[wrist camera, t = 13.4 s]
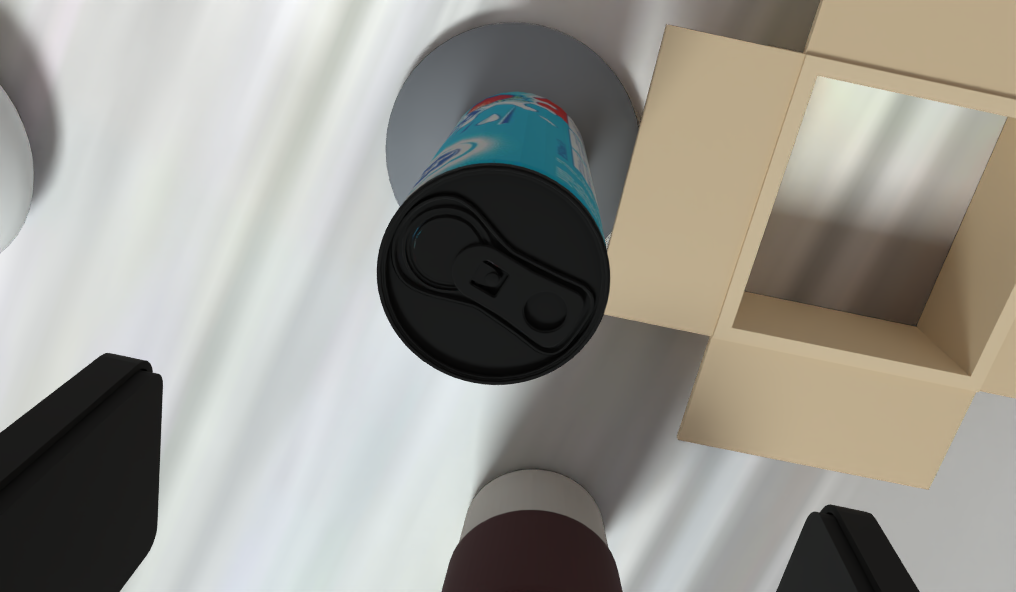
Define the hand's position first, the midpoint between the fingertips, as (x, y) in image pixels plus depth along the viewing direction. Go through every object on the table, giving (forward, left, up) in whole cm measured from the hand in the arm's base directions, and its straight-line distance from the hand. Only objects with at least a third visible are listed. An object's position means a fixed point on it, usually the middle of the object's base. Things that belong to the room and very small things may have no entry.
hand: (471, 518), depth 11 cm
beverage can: (0, 0, -24) cm, 24 cm away
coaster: (0, 0, -25) cm, 25 cm away
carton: (-15, -1, -25) cm, 29 cm away
